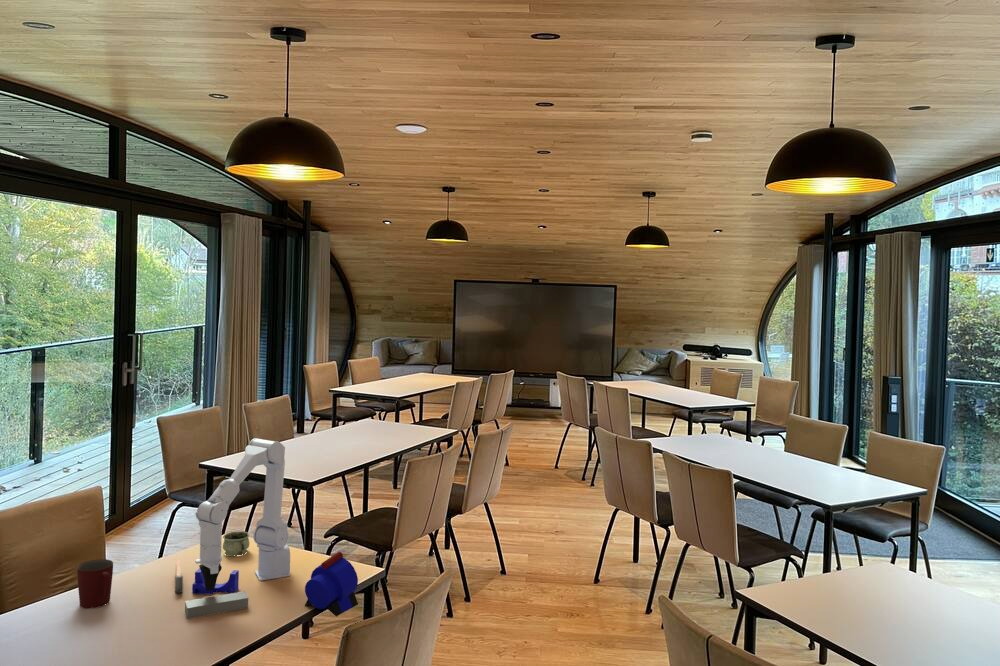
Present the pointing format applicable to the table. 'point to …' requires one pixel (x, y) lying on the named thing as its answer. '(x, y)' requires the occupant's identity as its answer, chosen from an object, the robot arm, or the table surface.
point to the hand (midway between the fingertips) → (209, 589)
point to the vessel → (236, 543)
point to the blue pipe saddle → (226, 587)
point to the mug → (94, 582)
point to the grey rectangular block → (216, 604)
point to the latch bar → (178, 578)
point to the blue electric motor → (333, 585)
